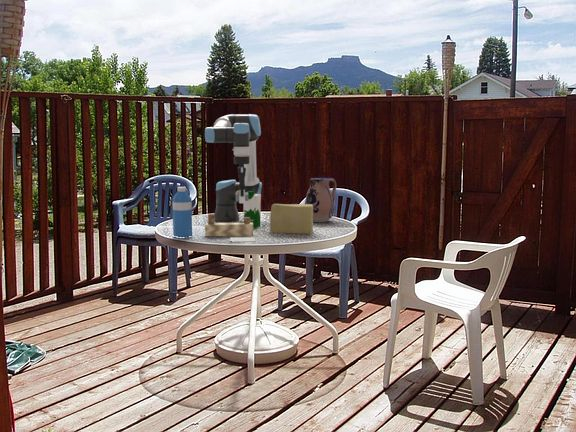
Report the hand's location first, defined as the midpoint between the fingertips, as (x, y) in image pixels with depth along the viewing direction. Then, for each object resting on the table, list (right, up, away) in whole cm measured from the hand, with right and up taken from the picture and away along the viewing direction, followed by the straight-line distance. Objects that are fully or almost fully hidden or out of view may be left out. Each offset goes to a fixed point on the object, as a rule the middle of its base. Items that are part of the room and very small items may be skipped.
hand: (242, 201), depth 303 cm
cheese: (+24, -16, +24) cm, 37 cm away
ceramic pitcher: (+42, -10, +63) cm, 76 cm away
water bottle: (-30, -17, +10) cm, 36 cm away
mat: (0, -18, +3) cm, 19 cm away
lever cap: (0, +1, 0) cm, 1 cm away
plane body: (-7, -17, +15) cm, 24 cm away
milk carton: (+3, -13, +41) cm, 44 cm away
